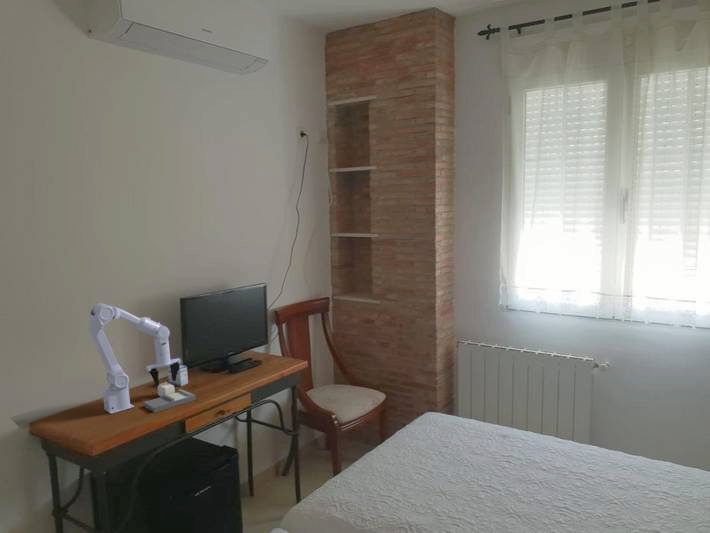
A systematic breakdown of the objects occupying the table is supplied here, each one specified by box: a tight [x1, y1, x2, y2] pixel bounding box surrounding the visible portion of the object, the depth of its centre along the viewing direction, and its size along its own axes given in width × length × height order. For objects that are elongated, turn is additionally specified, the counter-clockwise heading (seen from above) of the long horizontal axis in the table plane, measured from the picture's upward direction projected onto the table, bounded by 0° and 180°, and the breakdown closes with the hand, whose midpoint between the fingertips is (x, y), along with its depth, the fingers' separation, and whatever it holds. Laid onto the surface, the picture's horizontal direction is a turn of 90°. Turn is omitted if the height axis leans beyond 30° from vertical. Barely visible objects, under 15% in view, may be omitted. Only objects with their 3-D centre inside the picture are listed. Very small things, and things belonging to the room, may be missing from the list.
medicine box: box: [167, 364, 189, 387], centre depth 250 cm, size 8×4×9 cm, turn 62°
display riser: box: [143, 388, 197, 413], centre depth 225 cm, size 18×10×3 cm, turn 134°
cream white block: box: [157, 381, 176, 397], centre depth 234 cm, size 4×8×5 cm, turn 44°
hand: (165, 382), depth 234 cm, fingers open, 7 cm apart
